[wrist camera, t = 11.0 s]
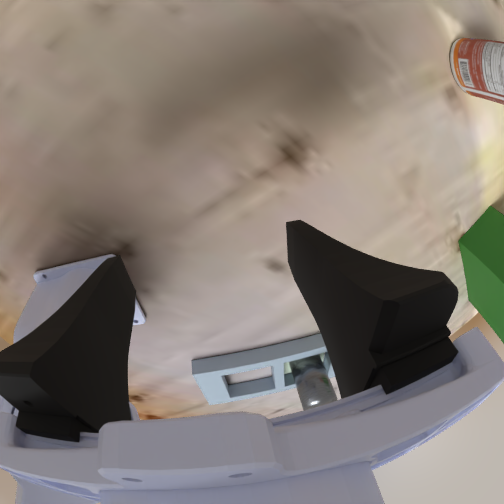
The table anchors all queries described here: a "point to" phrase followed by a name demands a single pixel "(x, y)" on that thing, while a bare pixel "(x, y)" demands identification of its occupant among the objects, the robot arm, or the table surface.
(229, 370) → the grey double-hole frame
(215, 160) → the table surface
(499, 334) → the hardback book
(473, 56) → the pill bottle
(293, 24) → the table surface
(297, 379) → the peg
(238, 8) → the table surface
